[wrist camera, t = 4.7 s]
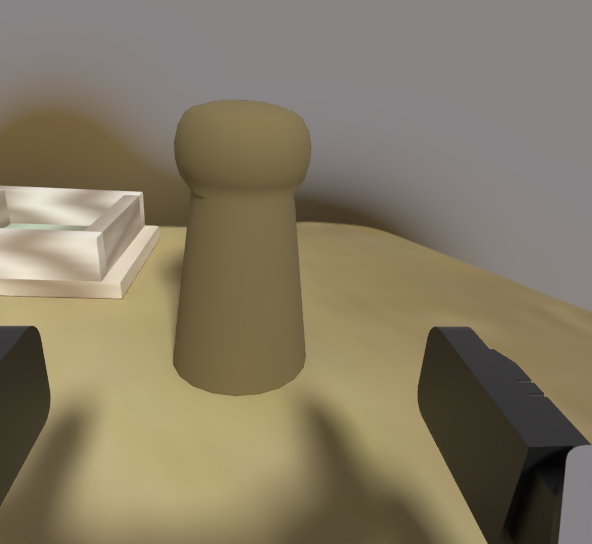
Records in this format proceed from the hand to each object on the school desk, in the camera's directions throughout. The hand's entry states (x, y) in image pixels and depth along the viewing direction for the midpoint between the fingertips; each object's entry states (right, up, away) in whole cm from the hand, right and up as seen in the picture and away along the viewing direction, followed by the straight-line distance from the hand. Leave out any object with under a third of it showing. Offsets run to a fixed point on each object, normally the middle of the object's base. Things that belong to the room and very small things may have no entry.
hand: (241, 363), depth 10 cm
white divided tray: (-19, +3, +20) cm, 28 cm away
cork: (-1, -2, +12) cm, 12 cm away
